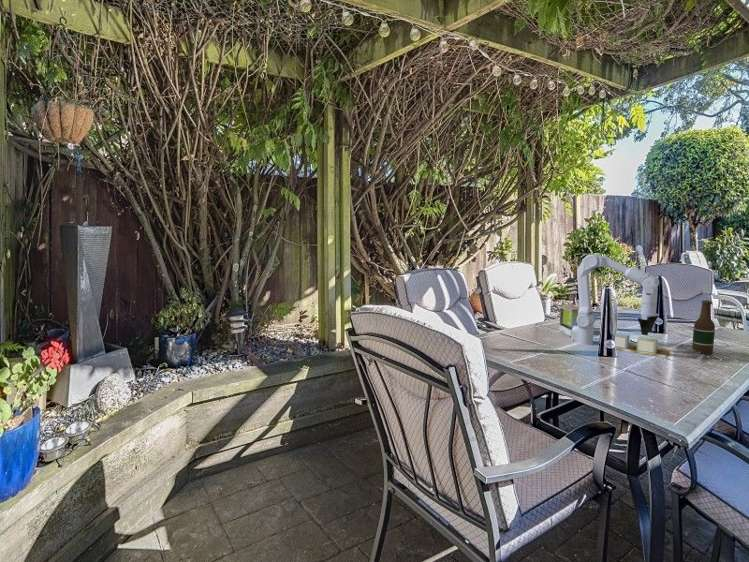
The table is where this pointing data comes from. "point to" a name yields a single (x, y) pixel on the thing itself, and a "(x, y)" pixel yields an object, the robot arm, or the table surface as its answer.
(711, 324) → the beer bottle
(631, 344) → the display board
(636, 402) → the table surface
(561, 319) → the tea box
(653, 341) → the sage carton
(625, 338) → the slate carton
